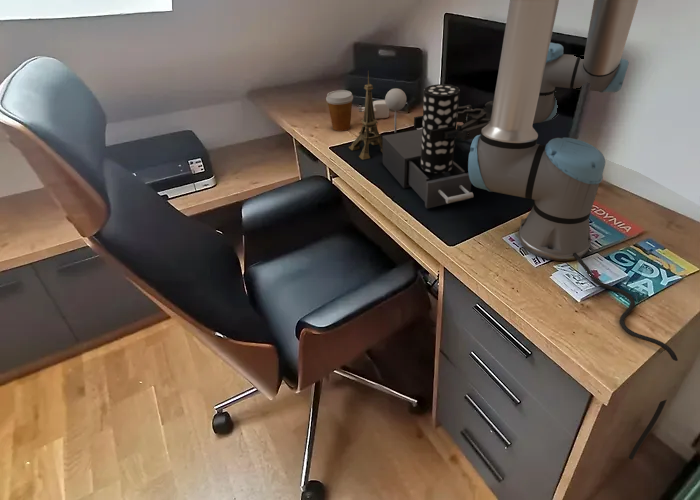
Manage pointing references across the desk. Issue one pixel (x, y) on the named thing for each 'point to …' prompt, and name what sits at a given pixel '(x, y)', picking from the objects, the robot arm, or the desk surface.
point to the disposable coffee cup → (340, 108)
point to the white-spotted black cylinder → (439, 126)
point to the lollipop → (395, 101)
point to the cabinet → (401, 153)
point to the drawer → (439, 184)
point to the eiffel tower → (368, 122)
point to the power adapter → (379, 109)
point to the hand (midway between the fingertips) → (422, 129)
